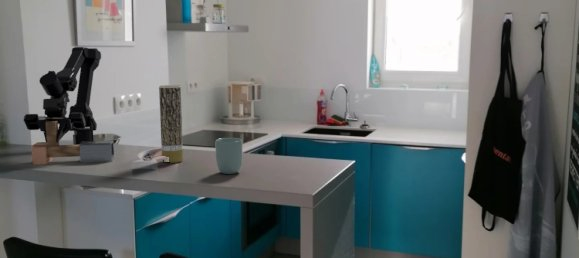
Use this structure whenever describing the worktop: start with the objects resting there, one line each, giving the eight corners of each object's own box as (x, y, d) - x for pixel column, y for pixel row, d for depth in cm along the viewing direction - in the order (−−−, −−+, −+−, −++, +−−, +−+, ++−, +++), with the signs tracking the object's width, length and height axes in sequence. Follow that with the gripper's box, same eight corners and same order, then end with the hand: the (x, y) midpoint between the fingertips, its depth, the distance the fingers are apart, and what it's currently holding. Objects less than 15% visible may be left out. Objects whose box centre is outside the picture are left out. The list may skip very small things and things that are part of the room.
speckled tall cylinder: (185, 159, 194) (183, 84, 191) (179, 163, 188) (177, 86, 184) (165, 159, 195) (162, 85, 192) (159, 163, 188) (156, 86, 185)
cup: (229, 169, 179) (228, 136, 178) (248, 172, 174) (247, 139, 173) (211, 173, 173) (210, 140, 172) (229, 176, 168) (228, 142, 167)
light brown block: (52, 160, 196) (50, 141, 195) (46, 164, 189) (45, 145, 188) (38, 160, 195) (37, 142, 195) (32, 164, 189) (31, 145, 188)
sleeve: (114, 158, 198) (113, 140, 197) (111, 161, 193) (110, 142, 192) (83, 159, 196) (82, 141, 196) (80, 162, 191) (79, 143, 190)
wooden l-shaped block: (92, 154, 196) (90, 119, 194) (90, 156, 192) (88, 121, 191) (42, 155, 194) (40, 121, 192) (39, 157, 190) (37, 122, 189)
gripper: (23, 89, 192) (14, 127, 183) (81, 88, 194) (76, 125, 185) (32, 111, 201) (24, 147, 192) (87, 109, 203) (83, 146, 194)
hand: (51, 141), depth 190 cm, fingers closed on wooden l-shaped block, 3 cm apart
